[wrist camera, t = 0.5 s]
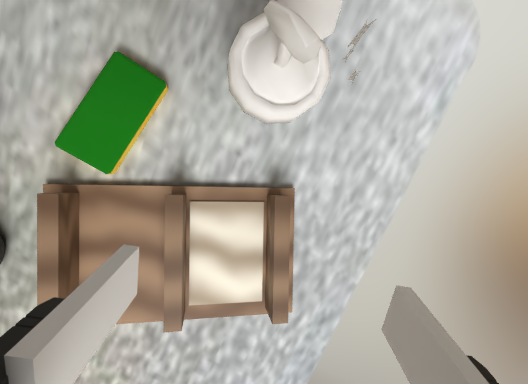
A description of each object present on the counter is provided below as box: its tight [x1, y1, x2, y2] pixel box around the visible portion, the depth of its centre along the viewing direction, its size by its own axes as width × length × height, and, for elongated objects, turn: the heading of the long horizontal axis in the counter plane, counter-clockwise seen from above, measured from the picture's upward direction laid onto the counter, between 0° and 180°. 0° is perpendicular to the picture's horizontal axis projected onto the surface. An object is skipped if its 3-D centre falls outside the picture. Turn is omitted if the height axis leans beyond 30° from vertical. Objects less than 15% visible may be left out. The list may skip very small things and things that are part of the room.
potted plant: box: [227, 0, 376, 124], centre depth 28 cm, size 13×12×25 cm
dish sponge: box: [55, 52, 168, 174], centre depth 36 cm, size 7×14×2 cm, turn 149°
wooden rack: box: [37, 184, 295, 332], centre depth 36 cm, size 18×32×6 cm, turn 89°
